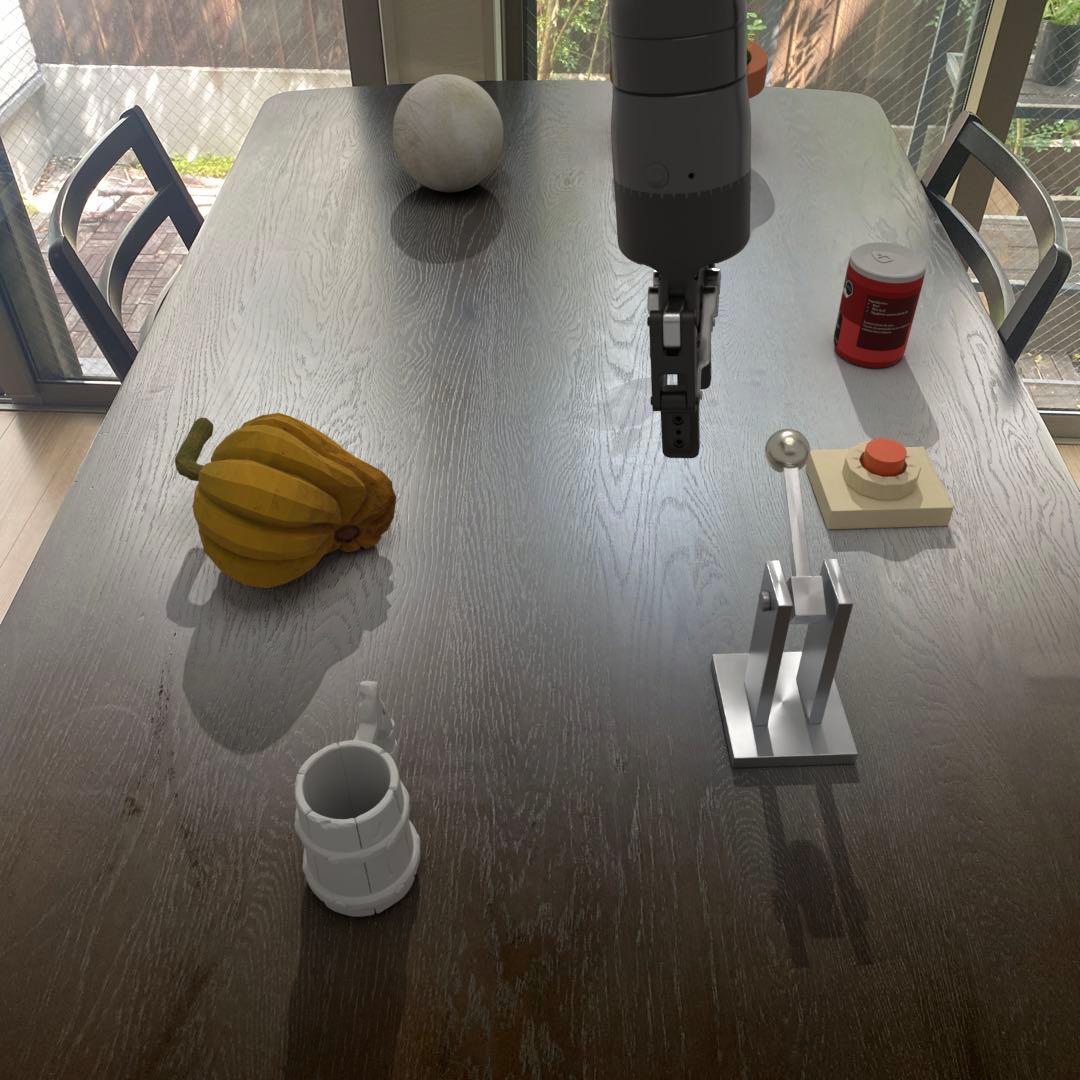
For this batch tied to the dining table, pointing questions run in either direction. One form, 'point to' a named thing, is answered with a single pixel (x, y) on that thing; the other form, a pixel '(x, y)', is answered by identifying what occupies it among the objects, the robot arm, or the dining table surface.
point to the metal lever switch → (787, 682)
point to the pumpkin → (281, 498)
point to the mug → (357, 817)
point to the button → (884, 457)
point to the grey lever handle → (796, 525)
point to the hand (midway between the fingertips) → (688, 419)
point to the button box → (877, 491)
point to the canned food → (878, 304)
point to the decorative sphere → (448, 133)
